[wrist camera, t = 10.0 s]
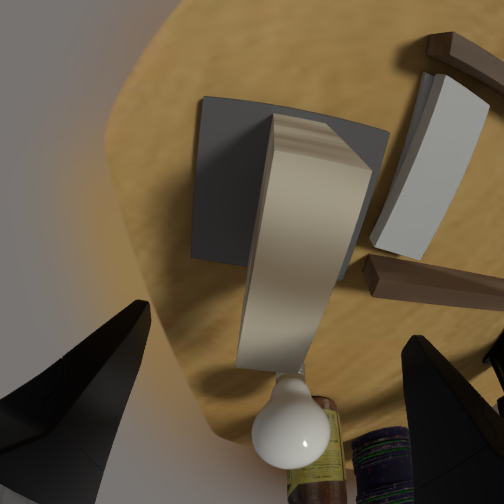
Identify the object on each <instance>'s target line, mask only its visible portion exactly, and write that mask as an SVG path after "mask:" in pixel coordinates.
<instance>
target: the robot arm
mask: <svg viewBox="0 0 504 504" xmlns="http://www.w3.org/2000/svg"><path fill="white" fill-rule="evenodd" d="M150 326H151V312H150V304H149V302H148V301H144V300H135V301H134V302H132V303H131V304H130V305H128V306H127V307H126V308H124V309H123V310H122V311H121V312H119V313H118V314H117V315H115V316H114V317H113V318H111V319H110V320H109V321H107V322H106V323H105V324H104V325H102V326H101V327H100V328H98V329H97V330H96V331H95V332H93V333H92V334H91V335H89V336H88V337H87V338H85V339H84V340H83V341H82V342H80V343H79V344H78V345H77V346H75V347H74V348H73V349H72V350H70V351H69V352H68V353H67V354H65V355H64V356H63V359H62V358H60V359H59V360H58V361H56V362H55V363H54V364H52V365H51V366H50V367H49V368H47V369H46V370H45V371H43V372H42V373H40V374H39V375H38V376H36V377H34V378H33V379H32V380H30V381H28V382H27V383H25V384H24V385H22V386H21V387H19V388H18V389H16V390H14V391H13V392H11V393H10V394H8V395H7V396H5V397H3V398H2V399H0V504H95V501H96V497H97V494H98V490H99V487H100V483H101V480H102V476H103V472H104V470H105V467H106V463H107V460H108V457H109V454H110V451H111V448H112V444H113V442H114V439H115V436H116V433H117V429H118V427H119V424H120V421H121V418H122V415H123V412H124V409H125V406H126V404H127V401H128V398H129V395H130V393H131V390H132V387H133V385H134V382H135V379H136V376H137V374H138V371H139V368H140V365H141V361H142V358H143V354H144V350H145V345H146V342H147V338H148V334H149V330H150ZM401 359H402V373H403V389H404V398H405V405H406V412H407V420H408V428H409V437H410V448H411V459H412V474H413V490H414V491H413V499H414V504H504V396H502V397H500V398H499V399H498V400H497V403H498V410H499V414H500V415H499V414H498V413H497V412H496V411H495V410H494V409H492V407H491V406H490V405H489V404H488V403H487V402H486V401H485V400H484V398H483V397H481V395H480V394H479V393H478V392H477V391H476V390H475V389H474V388H473V387H472V385H471V384H470V383H469V382H468V381H467V380H466V379H465V378H464V377H463V376H462V375H461V374H460V373H459V372H458V371H457V370H456V369H455V368H454V366H453V365H452V364H451V363H450V362H449V361H448V360H447V359H446V358H445V357H444V356H443V355H442V354H441V353H440V352H439V351H438V350H437V349H436V348H435V347H434V346H433V345H432V344H431V343H430V342H429V341H428V340H427V339H426V338H425V337H424V336H422V335H413V336H411V338H410V339H409V341H408V342H407V344H406V345H405V347H404V348H403V350H402V353H401ZM482 362H483V364H491V365H492V367H493V369H494V371H495V373H496V375H497V378H498V380H499V382H500V384H501V387H502V389H503V391H504V334H503V335H502V337H501V338H500V339H499V341H498V342H497V343H496V344H495V346H494V347H493V348H492V350H491V351H490V352H489V353H488V355H487V356H486V357H485V358H484V359H483V361H482Z"/></svg>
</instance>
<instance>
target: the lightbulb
mask: <svg viewBox="0 0 504 504" xmlns="http://www.w3.org/2000/svg"><path fill="white" fill-rule="evenodd" d="M304 367H305V364H304V362H303V363H302V365H301V368H300V370H299V372H298V374H287V373H278V372H276V385H275V386H274V388H273V390H272V394H271V397H270V400H269V401H268V402H267V403H266V405H265V406H264V407H263V408H262V409H261V410H260V412H259V413H258V414H257V416H256V418H255V420H254V422H253V425H252V431H251V438H252V443H253V446H254V448H255V450H256V452H257V453H258V455H259V456H260V457H261V458H262V459H263V460H264V461H265V462H267V463H268V464H270V465H272V466H274V467H277V468H281V469H298V468H302V467H305V466H308V465H310V464H311V463H313V462H315V461H316V460H317V459H318V458H319V457H320V456H321V455H322V454H323V453H324V451H325V450H326V448H327V446H328V444H329V441H330V436H331V427H330V422H329V419H328V417H327V415H326V413H325V412H324V410H323V409H322V408H321V407H320V406H319V405H318V404H317V403H316V402H315V401H314V400H313V398H312V397H311V394H310V390H309V388H308V386H307V385H306V381H305V368H304Z"/></svg>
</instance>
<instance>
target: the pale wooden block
mask: <svg viewBox="0 0 504 504" xmlns="http://www.w3.org/2000/svg"><path fill="white" fill-rule="evenodd" d="M371 174H372V170H371V169H370V168H369V167H368V166H367V165H366V163H365V162H364V161H363V160H362V159H361V158H360V157H359V156H358V155H357V154H356V153H355V152H354V151H353V150H352V149H351V148H350V147H349V146H348V145H347V144H346V143H345V142H344V141H343V140H342V139H341V138H340V137H339V136H338V135H337V134H336V133H335V132H334V131H333V130H332V129H331V128H330V127H329V126H328V125H327V124H326V123H321V122H317V121H312V120H307V119H302V118H297V117H292V116H286V115H280V114H275V113H273V119H272V125H271V131H270V137H269V143H268V149H267V155H266V161H265V166H264V172H263V178H262V184H261V190H260V196H259V202H258V208H257V214H256V220H255V226H254V232H253V238H252V244H251V250H250V256H249V262H248V270H247V278H246V286H245V294H244V301H243V309H242V317H241V325H240V333H239V341H238V349H237V357H236V365H235V367H238V368H245V369H252V370H260V371H269V372H278V373H287V374H298V372H299V370H300V368H301V365H302V363H303V361H304V359H305V356H306V354H307V352H308V350H309V347H310V345H311V343H312V340H313V338H314V335H315V333H316V331H317V328H318V326H319V323H320V321H321V318H322V316H323V314H324V311H325V309H326V306H327V303H328V301H329V298H330V296H331V293H332V291H333V288H334V285H335V283H336V280H337V277H338V275H339V272H340V269H341V266H342V264H343V261H344V258H345V255H346V252H347V249H348V247H349V244H350V241H351V238H352V235H353V232H354V229H355V226H356V223H357V220H358V217H359V214H360V210H361V207H362V204H363V201H364V198H365V194H366V191H367V188H368V184H369V181H370V178H371Z"/></svg>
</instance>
